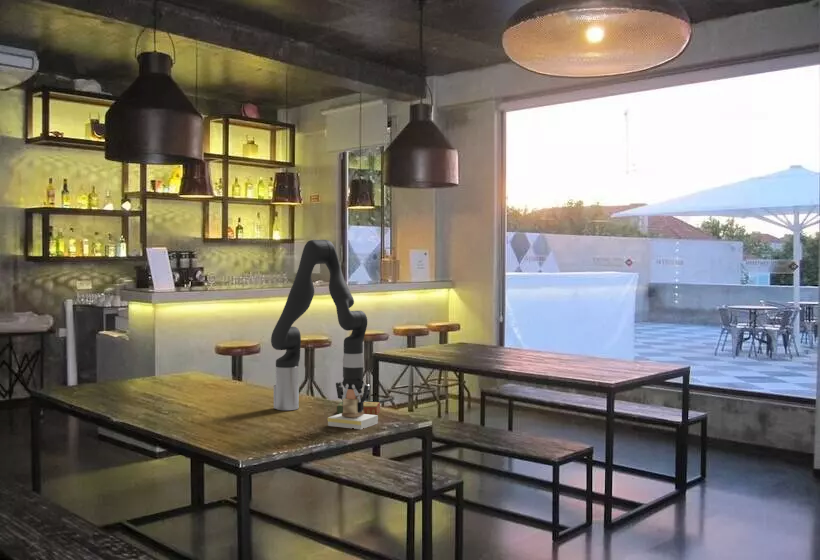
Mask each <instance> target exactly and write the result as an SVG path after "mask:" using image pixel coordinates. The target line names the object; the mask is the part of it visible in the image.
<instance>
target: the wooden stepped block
mask: <svg viewBox="0 0 820 560" xmlns="http://www.w3.org/2000/svg"><path fill="white" fill-rule="evenodd" d="M342 402H343V413H342V416H344V417H353V418H354V417H357V416H360V415H363V414H364V411H362V412H360V413H358V399H347V398H344V399H343V401H342Z"/></svg>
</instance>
